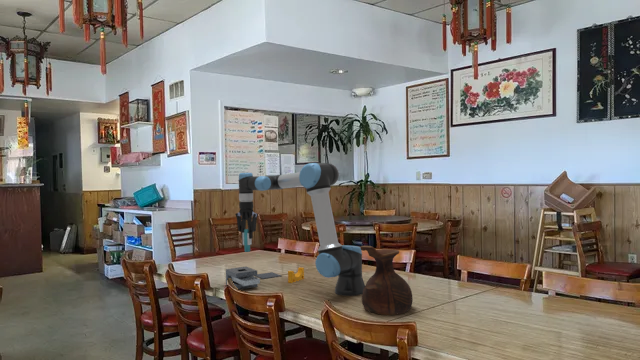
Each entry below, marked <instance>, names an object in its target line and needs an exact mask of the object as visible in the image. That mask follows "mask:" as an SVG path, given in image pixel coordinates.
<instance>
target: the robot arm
mask: <svg viewBox="0 0 640 360" xmlns="http://www.w3.org/2000/svg"><path fill="white" fill-rule="evenodd" d="M339 177H340V172H339V170H338V168H337V167H336V166H335V165H334V164H332V163H330V162H311V163H306V164H305V165H303V167H302V168H301V169H300V171H298V172H292V173H291V172H290V173H285V174H277V175H256V176H255V175H254V174H253V173H252V172H240V173H239V174H238V180H237V181H238V200H239V205H238V207H239V212H236V213H235V217H236V222H237V223H236V225H237V231H238V232H241V239H242V246H244V229H248V231H249V232H248V233H247V239H248V245H250V246H252V245H253V243H252V242H253V241H252V240H253V233H254V232H256V231H257V220H258V219H257V217H258V215H259V213H256V212H255V211H254V191H260V192H264V191H271V190H274V191H275V190H283V189H289V188H297V187H303V188H305V189H306V194H307V195H308V196H310V198H311V199H310V200H311V205H312V210H313V215H314V221H315V225H316V230H317V231H316V232H317V235H318V240H319V247H318V249H317V252H318V255H317V256H316V259H315V268H316V270H317V271H318V274H320V275H322V277H324V278H336V277H337V281H336V284H335V287H334V293H335V295H339V296H343V297H344V296H345V297H352V296H355V297H356V296H362V294H363V290H364V287H365V285H366V283H365V281H364V278H363V252H362V251H363V250H361V246H358V245H348V244H347V245H345V244H343V245H342V244H341V243H339V240H338V234H337V230H336V224H335V219H334V215H333V209H332V204H331V199H330V194H329V192H330V190H332V188H331V187H332V186H334V185H335V184H336V183H337V182H338V181H339ZM246 225H247V226H246ZM246 227H247V228H246Z"/></svg>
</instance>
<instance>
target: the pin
mask: <svg viewBox="0 0 640 360" xmlns="http://www.w3.org/2000/svg"><path fill="white" fill-rule="evenodd" d="M248 232H249V231H248V228H245V229H244V245H243V246H244V252H245V253H249V252H251V245H248V239H247V233H248Z"/></svg>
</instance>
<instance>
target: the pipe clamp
mask: <svg viewBox="0 0 640 360" xmlns="http://www.w3.org/2000/svg"><path fill="white" fill-rule="evenodd" d="M304 279H305V267H298V269H297V272H296V273H295V271H294V270H288V271H287V284H293V282H294V283H297V282H299V280H300V281H303V280H304ZM296 281H297V282H296Z"/></svg>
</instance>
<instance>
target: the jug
mask: <svg viewBox="0 0 640 360" xmlns="http://www.w3.org/2000/svg"><path fill="white" fill-rule="evenodd" d="M360 248H361V250H362V251H363V252H364V251H367V253H368V256H369V257H371V258H373V259H374V260H375V266H376V268H375V271H374V273H373V274H372V275H371V276H370V278H368V280H367V281H366V282H365V287H364V290H363V294H362V295H361V304H362V306H363V309H364V310H365V311H367V312H369V313H372V314H376V315H381V316H397V315H402V314H405V313H407V312H408V311H409V310H410V309H412V305H413V293H412V289H411V286H410V285H409V283H408V282H407V281H406V279H404V278H403V277H402V276H401V275H400V274H399V273H397V272H396V271H395V268H394V264H393V262H394V259H395V257H396V256H397V255H399V253H400V251H399V250H398V249H387V248H386V249H385V248H381V249H376V248H375V247H373V246H371V245H361V246H360Z"/></svg>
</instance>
